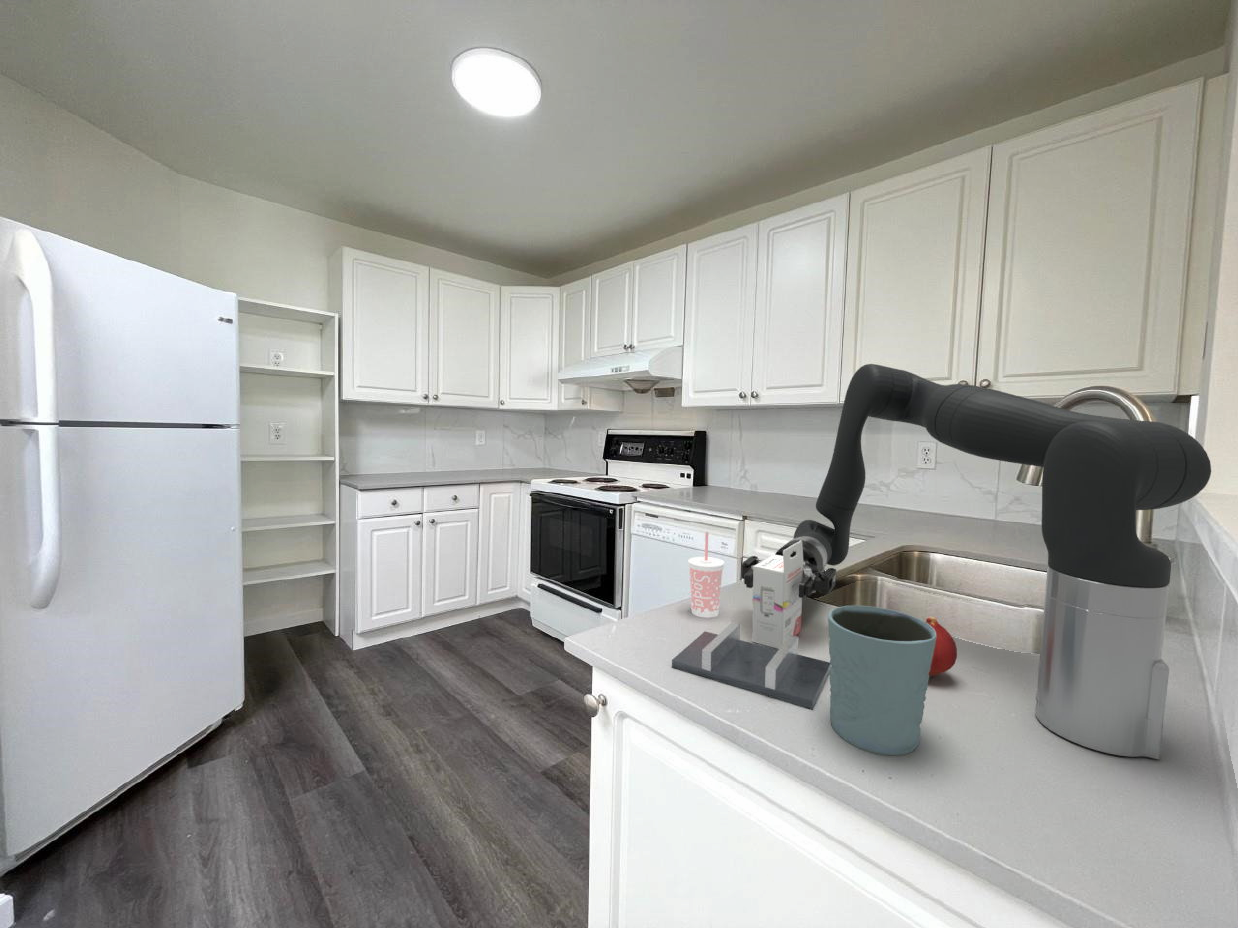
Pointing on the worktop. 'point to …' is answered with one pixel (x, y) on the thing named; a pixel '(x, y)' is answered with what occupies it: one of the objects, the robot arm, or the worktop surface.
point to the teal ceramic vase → (878, 677)
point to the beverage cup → (705, 584)
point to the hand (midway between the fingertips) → (774, 586)
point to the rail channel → (756, 666)
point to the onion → (942, 649)
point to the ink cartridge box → (777, 597)
